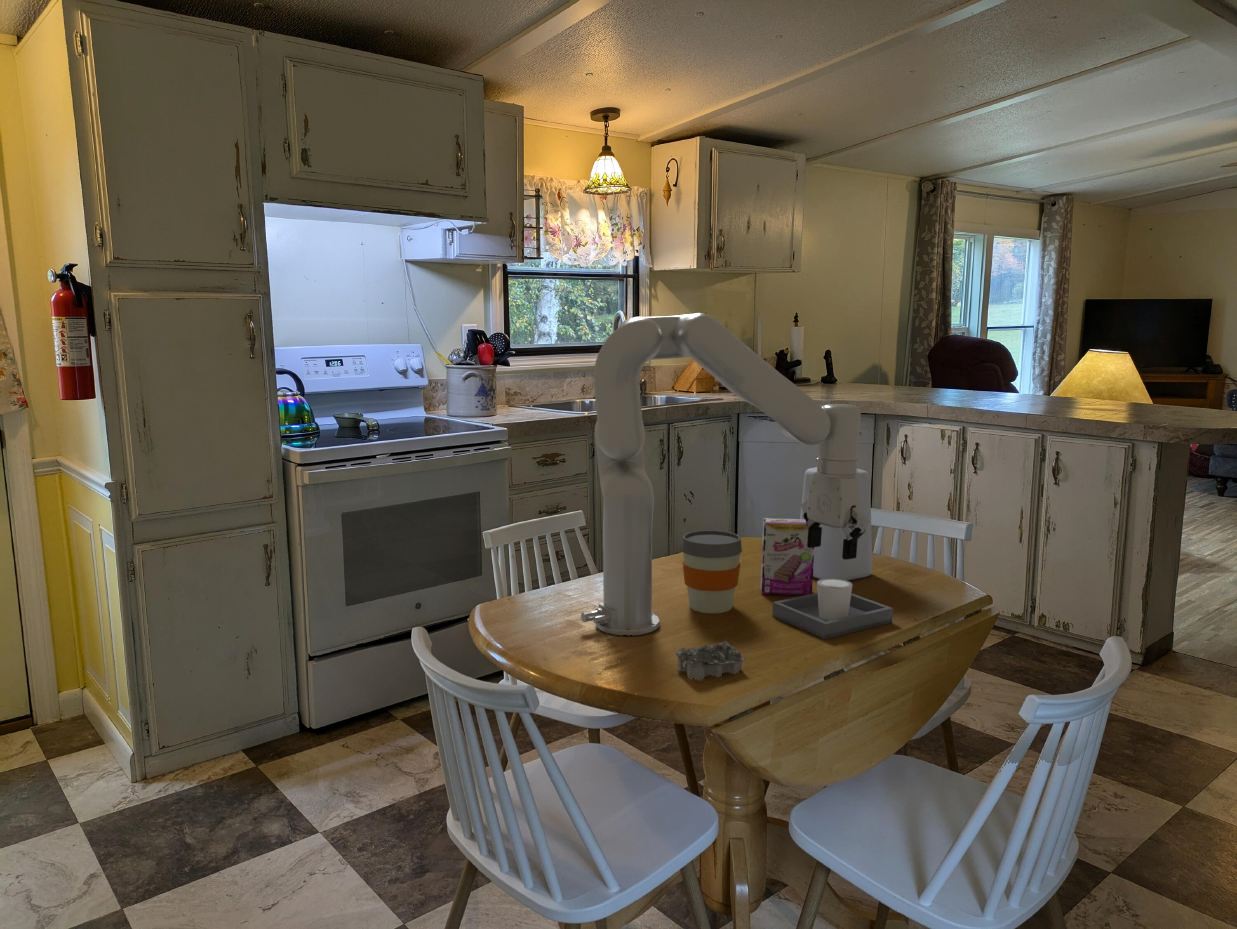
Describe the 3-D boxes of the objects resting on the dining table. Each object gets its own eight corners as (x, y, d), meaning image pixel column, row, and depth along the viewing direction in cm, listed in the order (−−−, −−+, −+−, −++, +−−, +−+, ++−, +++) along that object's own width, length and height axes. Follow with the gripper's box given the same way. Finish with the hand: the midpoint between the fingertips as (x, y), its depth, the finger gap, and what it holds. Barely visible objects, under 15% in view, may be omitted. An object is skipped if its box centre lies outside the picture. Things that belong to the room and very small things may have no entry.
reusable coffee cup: (750, 603, 180) (752, 534, 177) (724, 620, 169) (725, 547, 167) (698, 593, 186) (699, 527, 184) (669, 609, 176) (670, 539, 174)
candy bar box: (761, 595, 185) (763, 522, 182) (760, 588, 190) (761, 517, 187) (813, 597, 184) (816, 523, 181) (810, 590, 189) (813, 518, 186)
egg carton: (690, 684, 140) (690, 660, 139) (672, 667, 147) (672, 644, 146) (747, 674, 143) (748, 652, 143) (727, 658, 150) (727, 636, 150)
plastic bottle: (787, 569, 205) (791, 455, 201) (835, 561, 212) (839, 451, 208) (830, 585, 192) (835, 464, 187) (879, 576, 199) (885, 459, 194)
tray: (824, 639, 159) (825, 624, 158) (772, 616, 171) (772, 602, 171) (892, 622, 168) (892, 608, 167) (837, 601, 180) (837, 588, 180)
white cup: (855, 614, 170) (856, 581, 169) (845, 624, 164) (847, 590, 163) (821, 608, 174) (823, 576, 172) (811, 618, 168) (812, 584, 167)
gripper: (792, 462, 170) (787, 544, 173) (856, 475, 155) (849, 565, 158) (819, 460, 174) (814, 540, 177) (884, 473, 159) (877, 561, 162)
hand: (831, 552), depth 167 cm, fingers open, 9 cm apart
